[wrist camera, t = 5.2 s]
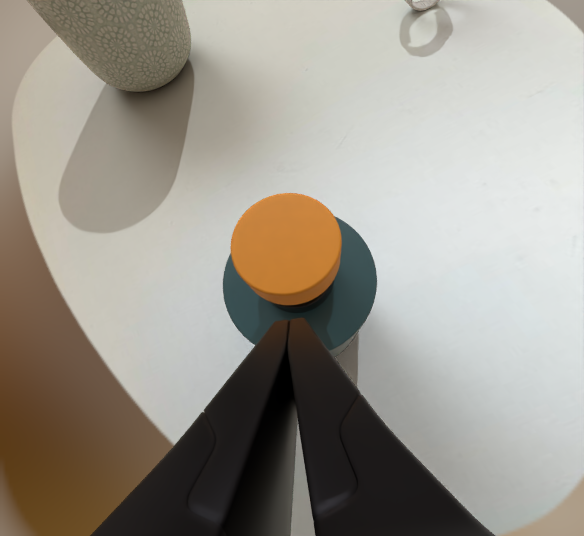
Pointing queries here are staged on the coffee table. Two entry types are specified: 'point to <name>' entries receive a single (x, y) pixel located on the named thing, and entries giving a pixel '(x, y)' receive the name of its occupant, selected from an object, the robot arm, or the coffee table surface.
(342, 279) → the bottle
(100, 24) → the planter
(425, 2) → the wristwatch
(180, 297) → the coffee table surface
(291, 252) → the orange short cylinder
